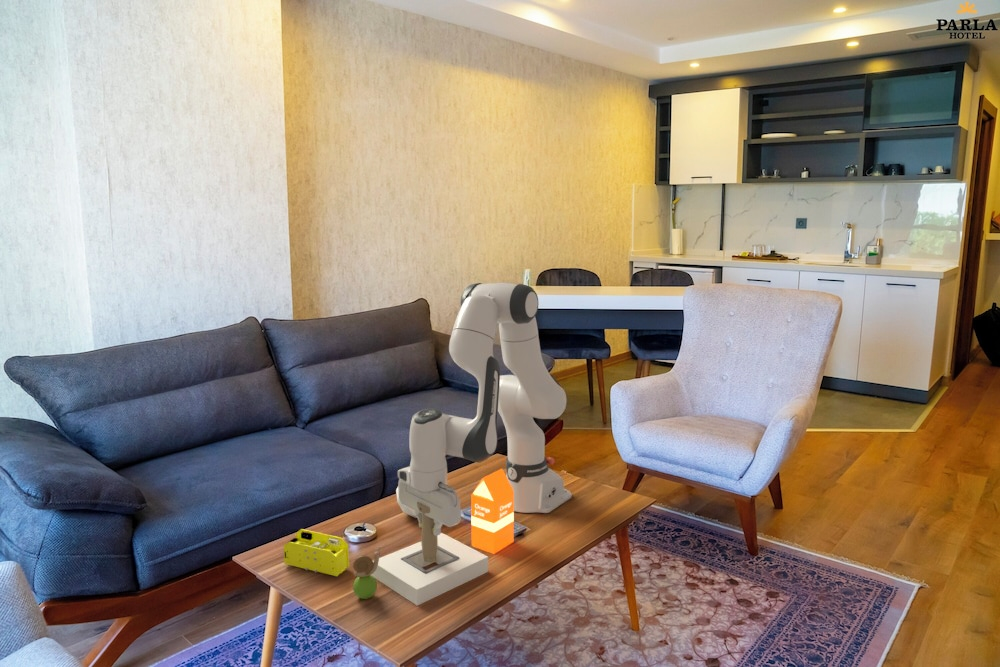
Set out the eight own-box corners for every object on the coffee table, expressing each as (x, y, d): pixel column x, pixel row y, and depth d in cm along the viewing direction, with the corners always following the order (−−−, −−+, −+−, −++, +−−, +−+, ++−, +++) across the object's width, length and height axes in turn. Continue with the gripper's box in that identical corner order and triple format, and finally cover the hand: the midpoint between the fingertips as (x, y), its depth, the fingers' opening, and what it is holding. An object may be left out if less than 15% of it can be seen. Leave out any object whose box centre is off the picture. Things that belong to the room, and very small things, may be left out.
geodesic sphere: (457, 503, 206) (443, 458, 211) (413, 514, 199) (399, 467, 204) (439, 517, 217) (426, 474, 222) (397, 528, 210) (384, 483, 215)
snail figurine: (383, 600, 167) (381, 552, 165) (354, 605, 165) (352, 556, 163) (380, 588, 172) (378, 541, 170) (352, 592, 170) (350, 545, 168)
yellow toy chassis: (350, 569, 181) (349, 538, 180) (336, 580, 176) (335, 548, 174) (298, 557, 187) (296, 526, 186) (283, 567, 182) (282, 536, 181)
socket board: (442, 546, 192) (441, 531, 192) (488, 571, 180) (488, 555, 179) (372, 576, 177) (371, 560, 177) (417, 605, 165) (416, 588, 164)
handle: (429, 568, 174) (428, 509, 171) (414, 558, 179) (412, 501, 176) (445, 561, 177) (444, 504, 174) (430, 552, 182) (428, 496, 179)
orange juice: (471, 545, 193) (470, 474, 189) (491, 533, 200) (491, 464, 196) (494, 554, 188) (494, 481, 185) (514, 541, 195) (514, 471, 192)
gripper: (467, 485, 169) (467, 541, 171) (413, 463, 183) (414, 514, 186) (446, 493, 164) (447, 549, 167) (393, 469, 179) (394, 521, 181)
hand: (429, 530), depth 176 cm, fingers closed on handle, 4 cm apart
